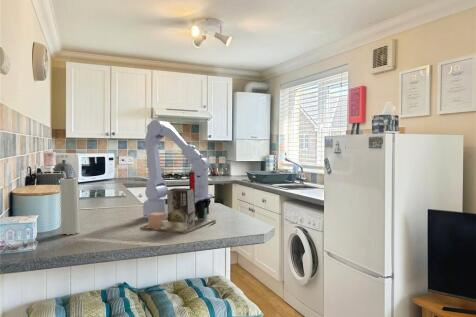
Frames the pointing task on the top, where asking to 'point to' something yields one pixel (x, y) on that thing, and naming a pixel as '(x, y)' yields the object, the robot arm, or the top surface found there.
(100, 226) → the top surface
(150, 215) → the terracotta cube
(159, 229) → the lane frame
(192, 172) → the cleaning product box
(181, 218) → the coffee box
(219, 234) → the top surface
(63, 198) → the tall grey block
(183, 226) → the frame
